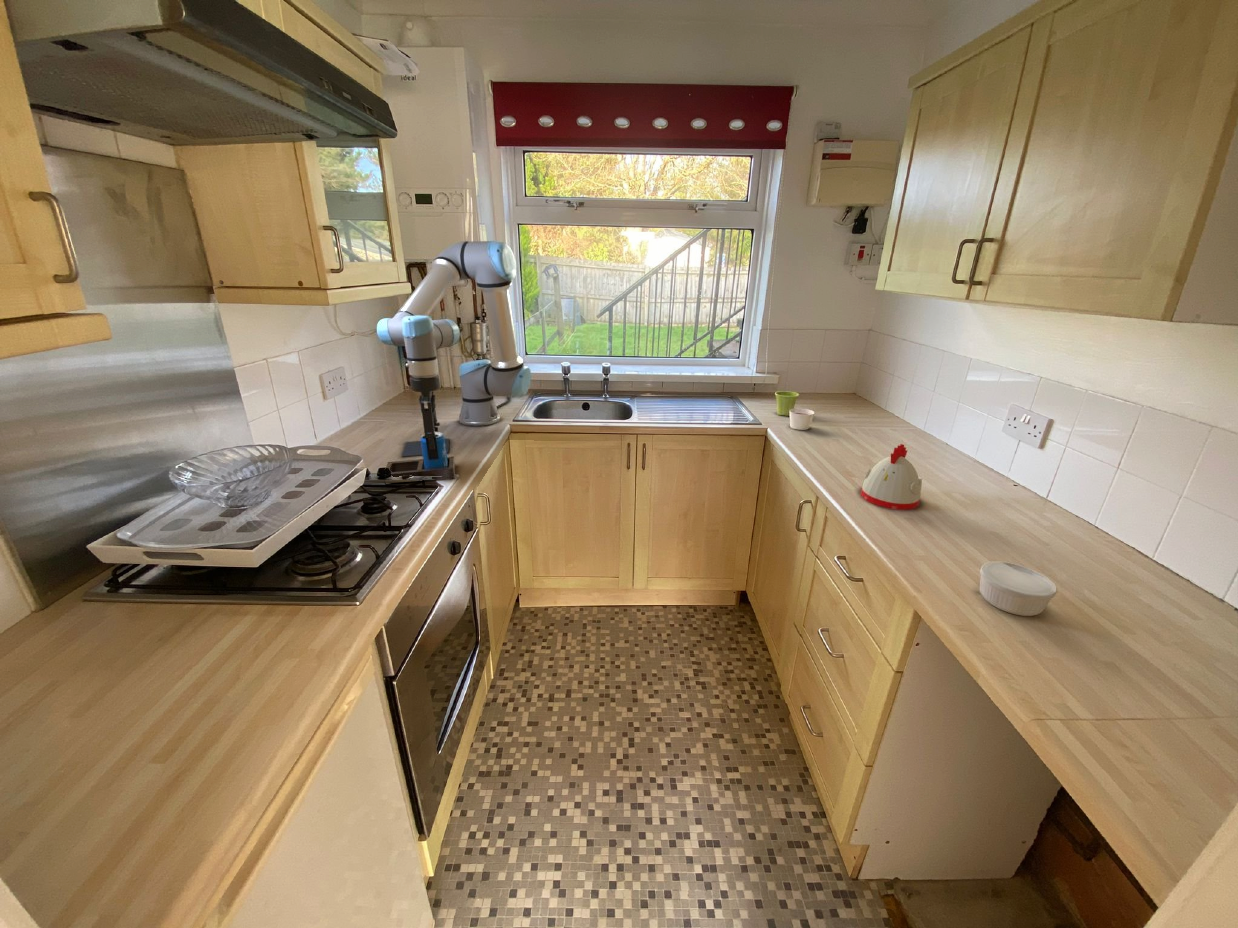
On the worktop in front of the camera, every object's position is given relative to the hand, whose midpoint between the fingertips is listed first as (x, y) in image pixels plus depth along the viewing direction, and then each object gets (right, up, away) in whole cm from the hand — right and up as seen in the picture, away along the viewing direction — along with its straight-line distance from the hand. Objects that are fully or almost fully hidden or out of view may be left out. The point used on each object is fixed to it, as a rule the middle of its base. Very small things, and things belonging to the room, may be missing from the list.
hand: (434, 453), depth 146 cm
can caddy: (-4, -6, +1) cm, 8 cm away
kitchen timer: (+125, -12, -10) cm, 126 cm away
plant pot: (+122, +18, +65) cm, 139 cm away
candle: (+122, +11, +48) cm, 132 cm away
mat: (-11, +2, +23) cm, 25 cm away
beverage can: (0, -6, +2) cm, 7 cm away
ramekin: (+126, -29, -52) cm, 139 cm away
